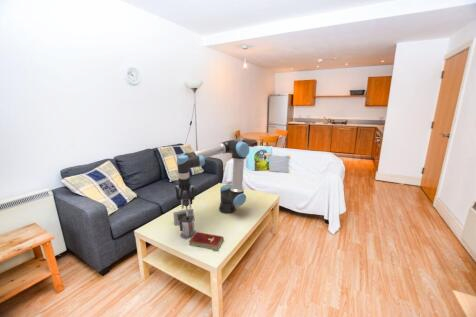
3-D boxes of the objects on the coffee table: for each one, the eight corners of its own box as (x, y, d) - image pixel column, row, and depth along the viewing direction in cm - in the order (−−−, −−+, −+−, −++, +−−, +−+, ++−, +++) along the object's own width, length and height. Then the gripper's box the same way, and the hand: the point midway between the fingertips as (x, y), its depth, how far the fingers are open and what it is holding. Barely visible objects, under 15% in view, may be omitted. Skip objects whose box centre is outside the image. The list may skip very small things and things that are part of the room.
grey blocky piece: (195, 230, 166) (194, 215, 163) (192, 237, 158) (191, 221, 155) (182, 230, 167) (181, 215, 163) (179, 237, 159) (177, 221, 155)
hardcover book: (196, 236, 162) (196, 231, 160) (223, 241, 156) (223, 235, 155) (188, 246, 150) (188, 241, 149) (217, 251, 145) (217, 246, 144)
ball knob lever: (192, 222, 162) (190, 198, 157) (190, 225, 158) (188, 201, 153) (185, 221, 163) (183, 198, 158) (183, 225, 158) (181, 201, 153)
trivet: (198, 230, 168) (198, 229, 168) (194, 240, 156) (194, 239, 156) (183, 230, 169) (183, 229, 168) (178, 239, 157) (178, 238, 157)
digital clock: (174, 226, 174) (172, 214, 171) (174, 220, 182) (173, 209, 179) (194, 224, 177) (193, 212, 174) (194, 218, 185) (193, 207, 183)
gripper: (198, 175, 154) (200, 205, 160) (173, 175, 155) (176, 205, 161) (195, 179, 147) (197, 210, 153) (169, 179, 148) (172, 210, 154)
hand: (186, 208), depth 157 cm, fingers closed on ball knob lever, 5 cm apart
